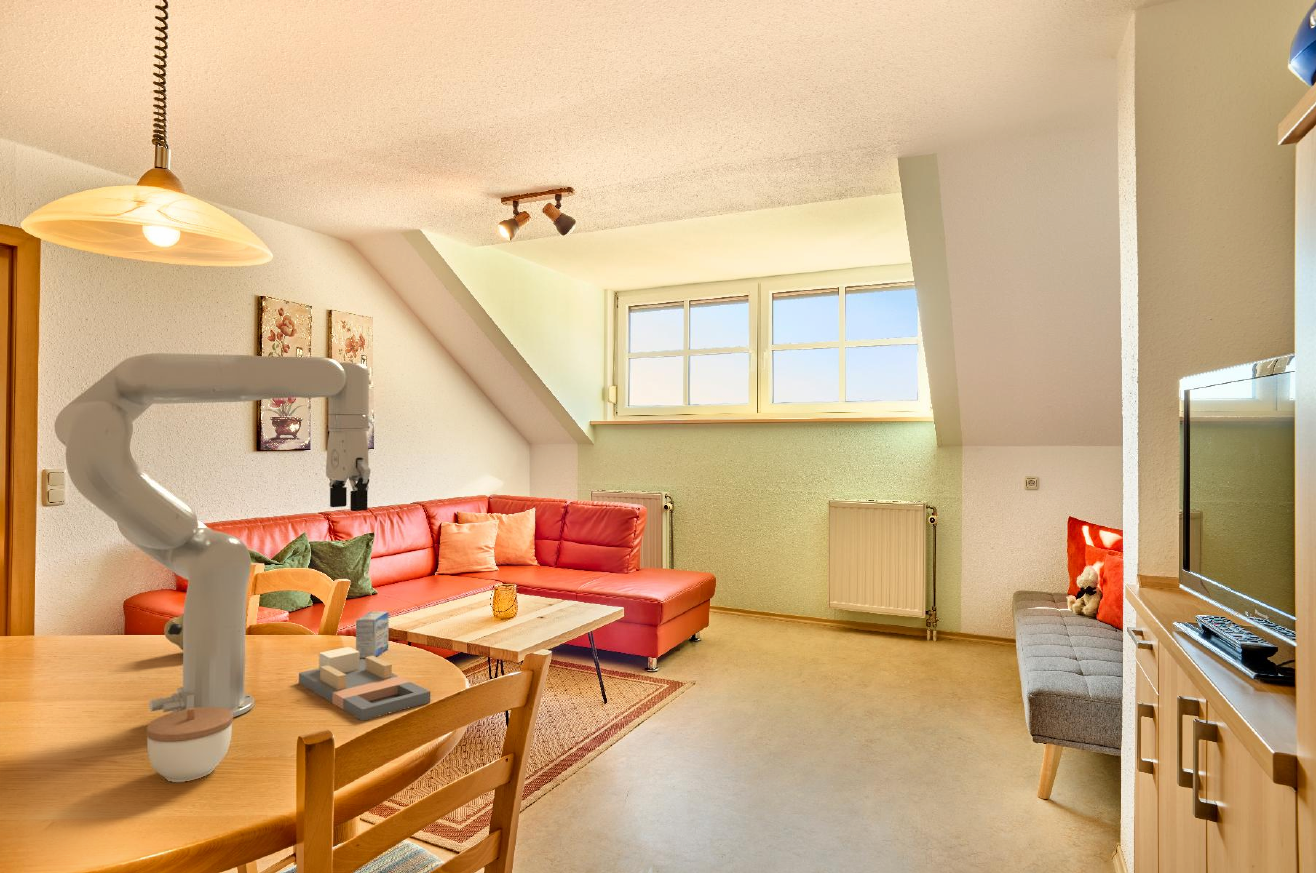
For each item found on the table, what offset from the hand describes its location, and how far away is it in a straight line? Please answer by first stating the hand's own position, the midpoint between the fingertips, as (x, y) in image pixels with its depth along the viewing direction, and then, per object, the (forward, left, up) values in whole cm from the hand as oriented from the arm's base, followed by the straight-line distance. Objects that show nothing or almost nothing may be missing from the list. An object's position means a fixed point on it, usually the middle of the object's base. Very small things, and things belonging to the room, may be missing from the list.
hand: (348, 508), depth 151 cm
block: (-1, 0, -32) cm, 32 cm away
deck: (-1, -10, -34) cm, 36 cm away
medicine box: (+12, +13, -35) cm, 39 cm away
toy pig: (-16, +39, -35) cm, 55 cm away
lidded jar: (-34, -25, -35) cm, 55 cm away
